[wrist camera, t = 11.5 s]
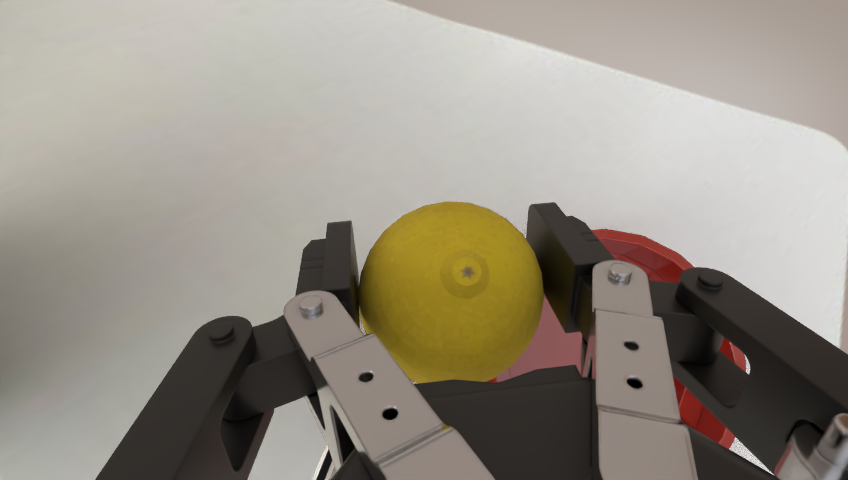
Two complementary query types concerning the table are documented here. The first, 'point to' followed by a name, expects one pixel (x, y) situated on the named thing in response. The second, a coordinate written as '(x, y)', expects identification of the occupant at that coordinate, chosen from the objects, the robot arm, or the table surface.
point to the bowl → (564, 347)
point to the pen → (324, 466)
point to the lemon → (452, 293)
